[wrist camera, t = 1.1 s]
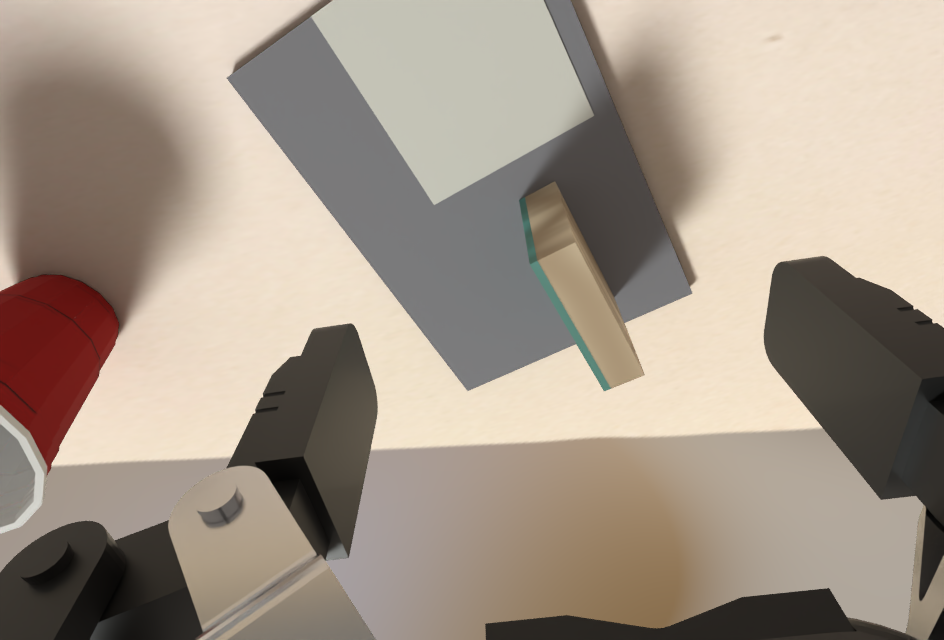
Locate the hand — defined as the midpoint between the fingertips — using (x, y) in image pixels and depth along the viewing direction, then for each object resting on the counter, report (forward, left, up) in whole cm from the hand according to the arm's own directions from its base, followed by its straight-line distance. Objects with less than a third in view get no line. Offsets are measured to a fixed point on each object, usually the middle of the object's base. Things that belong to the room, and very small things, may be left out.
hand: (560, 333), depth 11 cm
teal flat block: (+1, +8, -18) cm, 20 cm away
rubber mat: (+3, +3, -19) cm, 20 cm away
